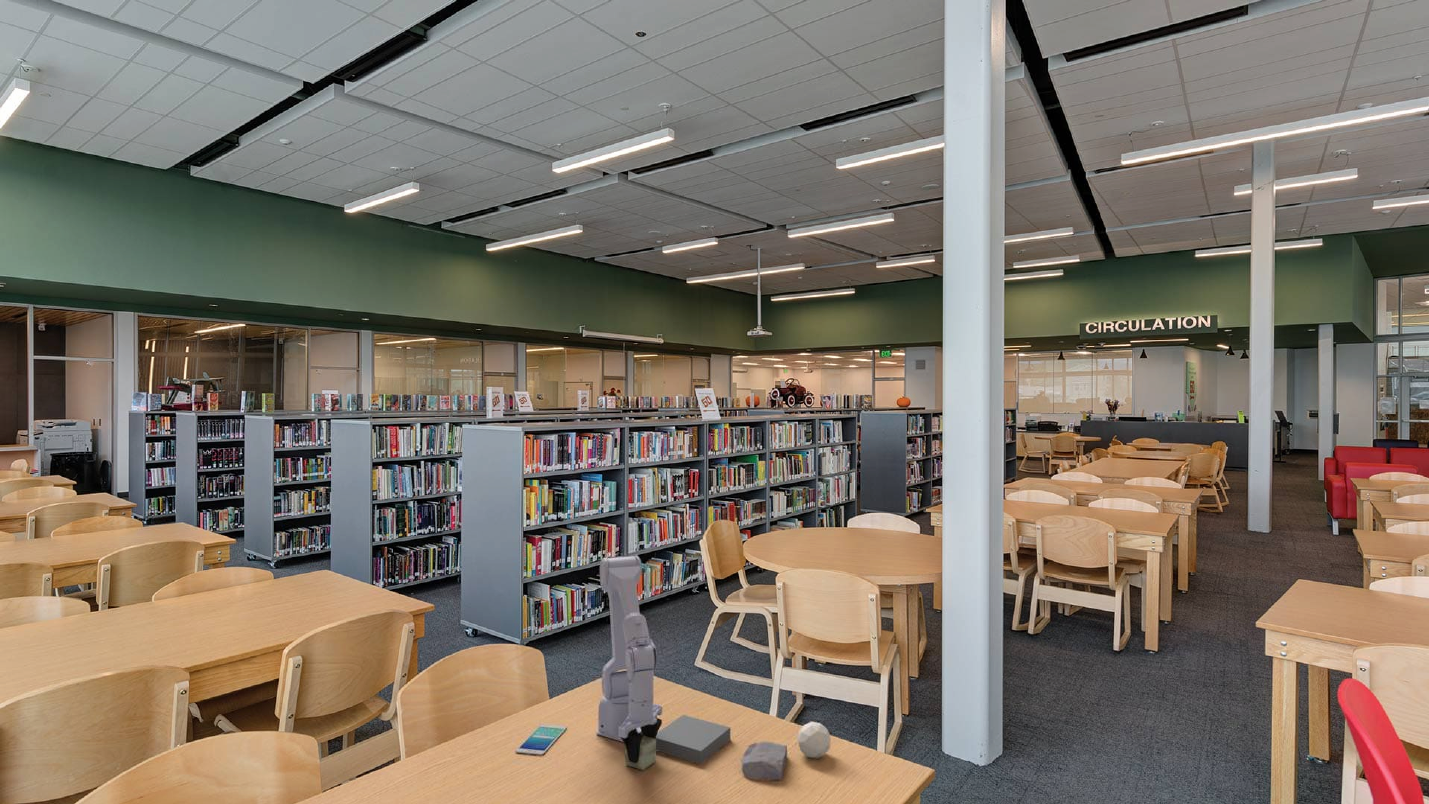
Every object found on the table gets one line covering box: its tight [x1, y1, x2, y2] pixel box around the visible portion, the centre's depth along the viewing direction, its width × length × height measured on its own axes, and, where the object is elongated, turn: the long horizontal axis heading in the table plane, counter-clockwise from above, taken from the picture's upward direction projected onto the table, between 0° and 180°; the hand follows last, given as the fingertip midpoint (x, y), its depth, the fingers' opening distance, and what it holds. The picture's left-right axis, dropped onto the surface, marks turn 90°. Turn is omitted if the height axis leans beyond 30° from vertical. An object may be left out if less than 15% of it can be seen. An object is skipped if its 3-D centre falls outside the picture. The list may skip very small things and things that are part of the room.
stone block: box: [741, 741, 788, 781], centre depth 162 cm, size 12×5×10 cm
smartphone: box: [515, 723, 568, 756], centre depth 175 cm, size 8×1×15 cm
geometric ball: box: [797, 721, 832, 760], centre depth 167 cm, size 8×8×8 cm
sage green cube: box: [625, 736, 657, 771], centre depth 163 cm, size 5×5×5 cm
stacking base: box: [655, 714, 731, 765], centre depth 173 cm, size 14×14×3 cm
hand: (640, 756), depth 163 cm, fingers closed on sage green cube, 5 cm apart
